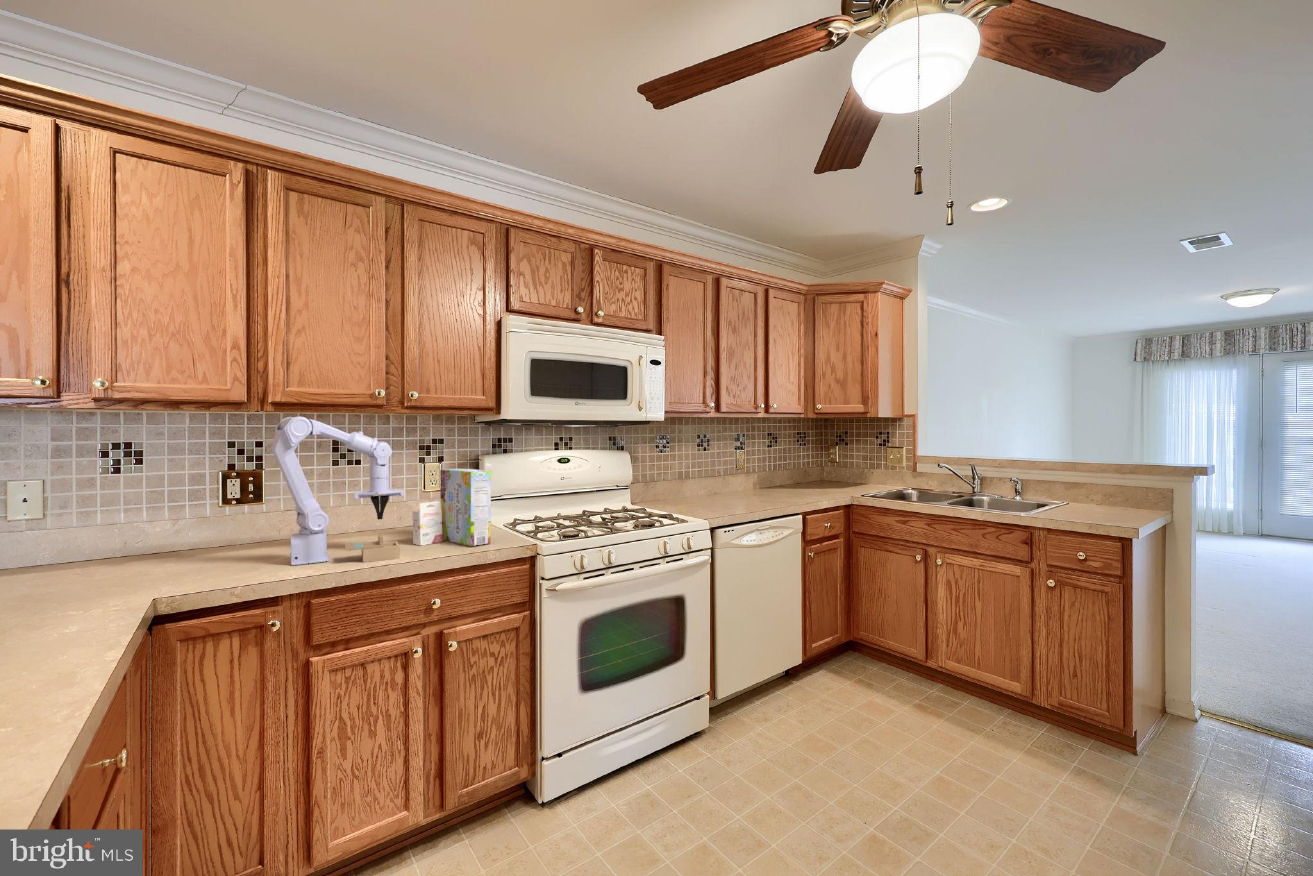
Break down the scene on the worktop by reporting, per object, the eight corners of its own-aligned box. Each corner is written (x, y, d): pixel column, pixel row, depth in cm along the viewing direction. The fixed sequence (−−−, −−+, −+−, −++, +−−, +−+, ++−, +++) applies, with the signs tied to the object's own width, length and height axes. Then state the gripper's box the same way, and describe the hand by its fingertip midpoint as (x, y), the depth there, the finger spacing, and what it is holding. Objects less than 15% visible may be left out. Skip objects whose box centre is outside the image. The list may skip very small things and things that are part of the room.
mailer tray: (363, 562, 168) (362, 549, 168) (361, 557, 175) (361, 544, 175) (399, 558, 173) (399, 545, 173) (396, 553, 180) (396, 541, 180)
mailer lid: (345, 550, 166) (345, 541, 166) (345, 545, 173) (344, 537, 173) (383, 547, 171) (382, 538, 171) (381, 542, 178) (380, 534, 178)
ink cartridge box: (435, 540, 201) (434, 499, 201) (442, 542, 198) (442, 500, 198) (412, 544, 194) (411, 502, 194) (420, 546, 191) (419, 503, 191)
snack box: (493, 543, 195) (492, 470, 194) (470, 548, 188) (469, 471, 188) (461, 536, 209) (460, 467, 209) (438, 539, 203) (438, 468, 202)
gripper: (354, 479, 178) (355, 522, 178) (404, 477, 185) (405, 518, 185) (354, 478, 184) (354, 519, 184) (402, 476, 191) (403, 515, 191)
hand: (379, 519), depth 185 cm, fingers closed
